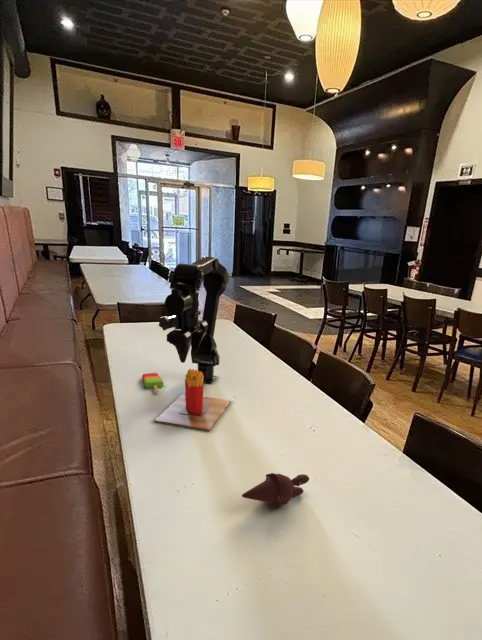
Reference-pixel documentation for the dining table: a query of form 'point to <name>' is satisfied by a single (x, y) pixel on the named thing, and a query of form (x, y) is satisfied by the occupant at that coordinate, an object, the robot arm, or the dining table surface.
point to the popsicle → (152, 381)
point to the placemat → (184, 418)
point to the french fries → (194, 391)
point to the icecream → (277, 489)
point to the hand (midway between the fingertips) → (188, 358)
